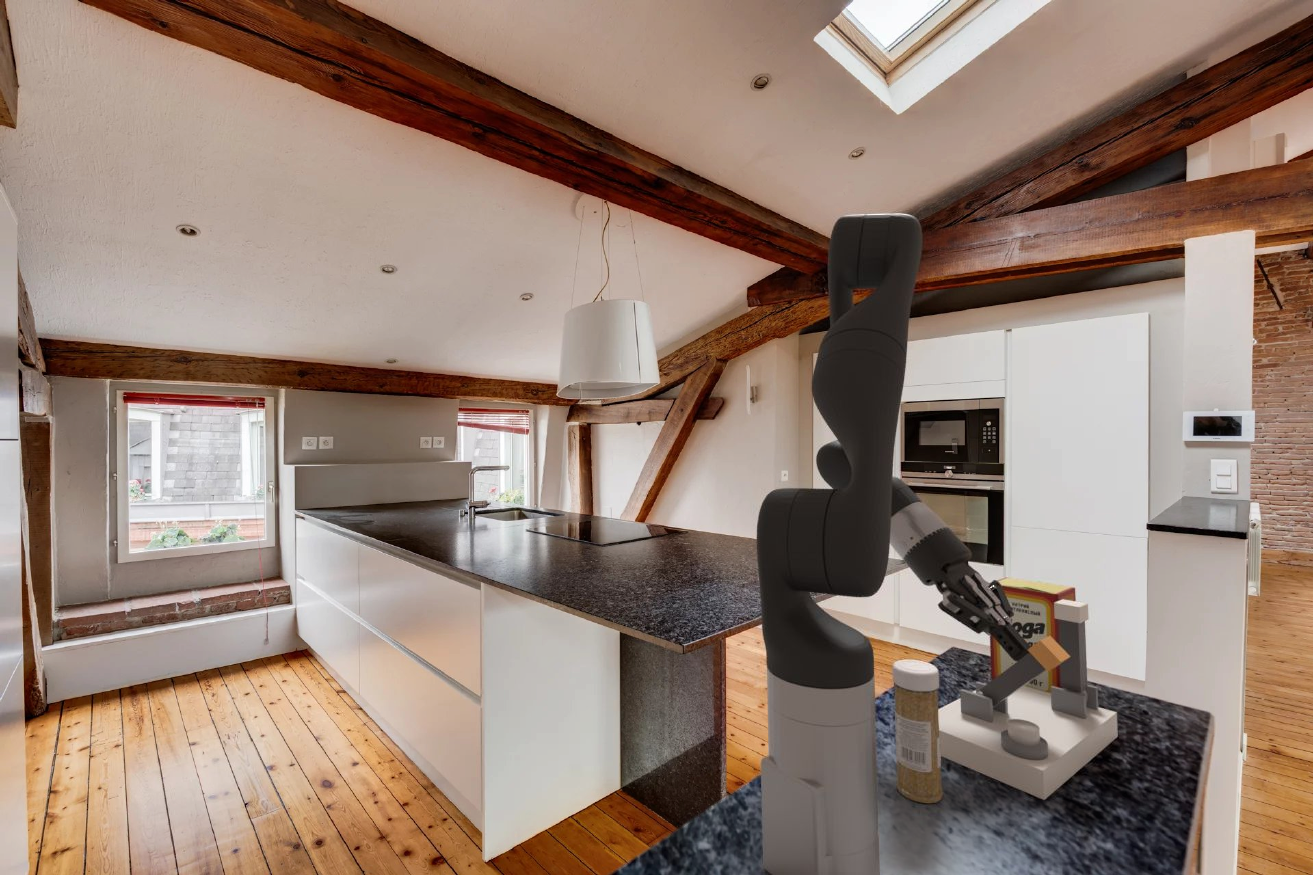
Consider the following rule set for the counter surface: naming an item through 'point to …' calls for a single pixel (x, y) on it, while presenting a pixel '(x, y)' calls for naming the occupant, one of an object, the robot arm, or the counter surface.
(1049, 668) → the lever orange
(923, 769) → the sprinkles bottle
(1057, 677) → the baking soda box
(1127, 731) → the counter surface
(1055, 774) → the switch panel
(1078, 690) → the lever white
